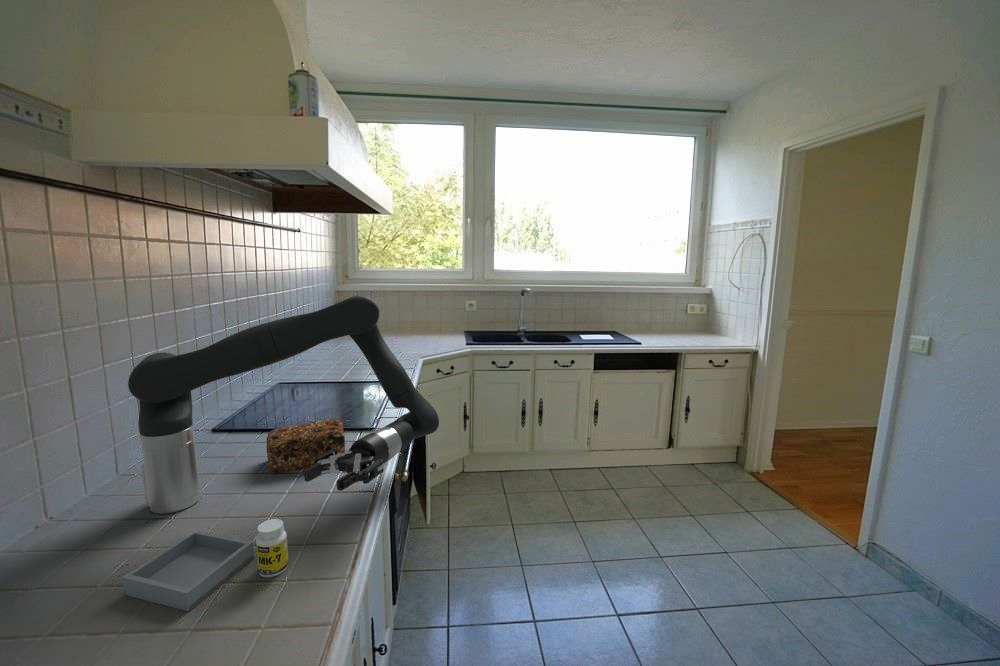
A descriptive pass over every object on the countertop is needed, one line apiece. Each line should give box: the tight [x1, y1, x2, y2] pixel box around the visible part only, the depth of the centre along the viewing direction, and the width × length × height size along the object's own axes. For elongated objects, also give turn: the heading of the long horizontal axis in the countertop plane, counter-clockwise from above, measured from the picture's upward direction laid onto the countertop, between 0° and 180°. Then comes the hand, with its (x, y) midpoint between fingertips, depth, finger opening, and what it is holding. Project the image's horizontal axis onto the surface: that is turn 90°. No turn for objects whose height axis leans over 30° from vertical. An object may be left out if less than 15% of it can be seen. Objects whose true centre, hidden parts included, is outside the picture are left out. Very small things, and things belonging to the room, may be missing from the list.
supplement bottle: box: [255, 518, 289, 578], centre depth 78 cm, size 5×5×8 cm
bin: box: [121, 529, 255, 612], centre depth 77 cm, size 13×13×3 cm
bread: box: [265, 418, 346, 474], centre depth 120 cm, size 19×11×10 cm, turn 114°
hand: (321, 481), depth 87 cm, fingers open, 8 cm apart
